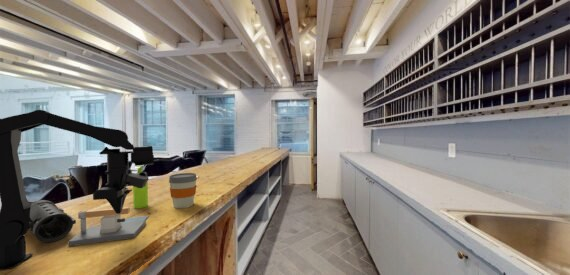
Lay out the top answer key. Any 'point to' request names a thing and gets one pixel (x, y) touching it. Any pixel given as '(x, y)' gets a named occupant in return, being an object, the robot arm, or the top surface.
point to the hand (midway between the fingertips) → (118, 213)
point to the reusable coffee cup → (183, 189)
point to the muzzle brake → (51, 222)
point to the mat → (136, 219)
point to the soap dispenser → (140, 193)
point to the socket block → (95, 235)
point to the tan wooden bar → (101, 213)
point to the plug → (111, 223)
